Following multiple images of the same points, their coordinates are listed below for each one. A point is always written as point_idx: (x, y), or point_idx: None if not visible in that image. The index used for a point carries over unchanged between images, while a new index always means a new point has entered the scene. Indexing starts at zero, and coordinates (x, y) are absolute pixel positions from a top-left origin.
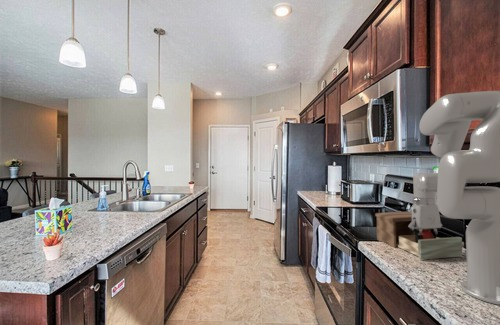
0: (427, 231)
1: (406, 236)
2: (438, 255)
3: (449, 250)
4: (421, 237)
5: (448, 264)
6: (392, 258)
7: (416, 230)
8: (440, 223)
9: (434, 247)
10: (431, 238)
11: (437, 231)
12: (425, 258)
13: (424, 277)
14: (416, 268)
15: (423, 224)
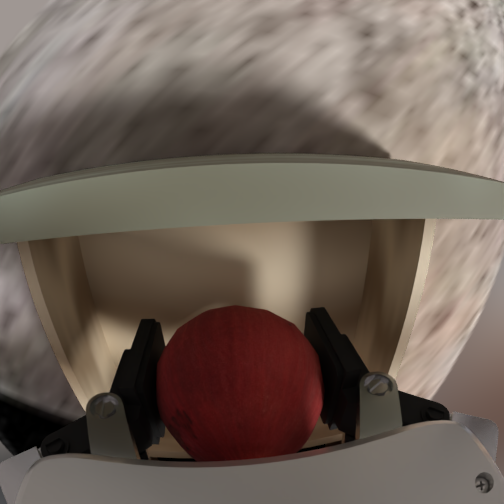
0: (255, 433)
1: (312, 436)
2: (259, 154)
3: (127, 164)
4: (348, 353)
5: (266, 58)
6: (482, 231)
7: (428, 413)
8: (10, 494)
9: (327, 158)
10: (235, 329)
11: (87, 419)
12: (375, 157)
13: (484, 26)
14: (474, 91)
15: (456, 484)
